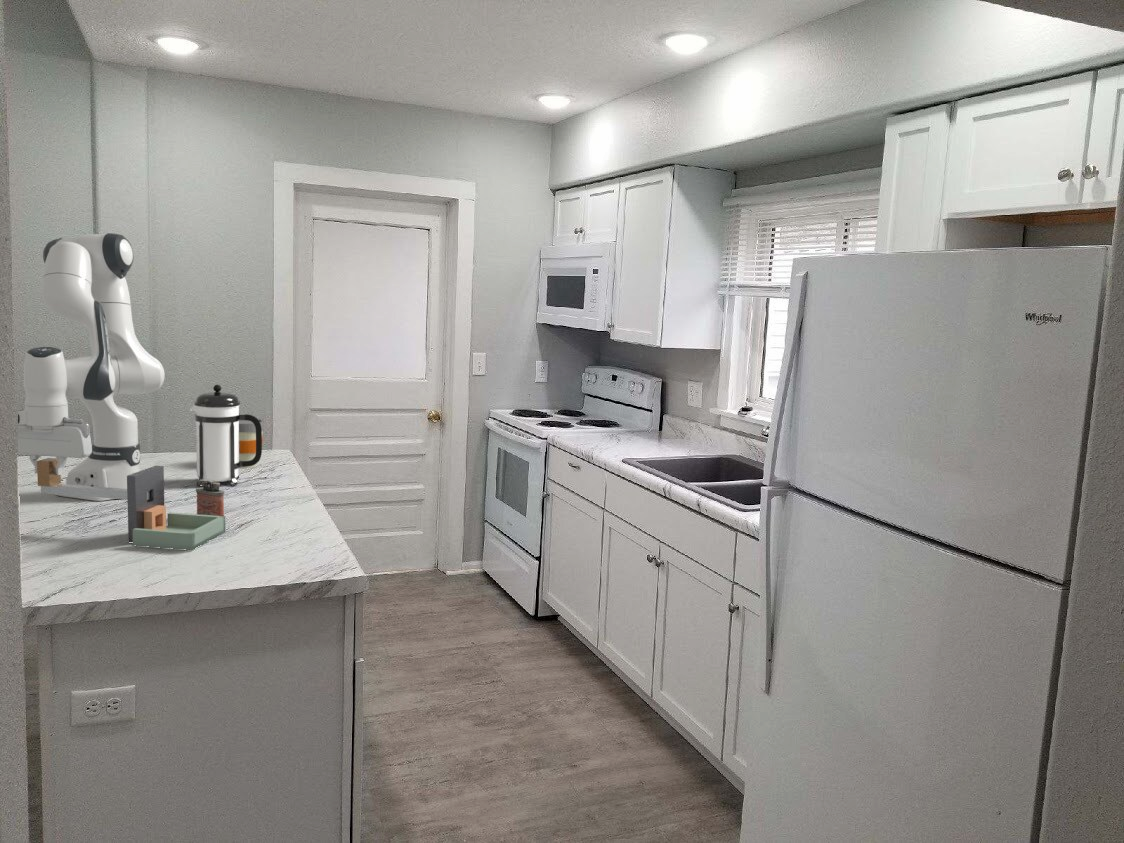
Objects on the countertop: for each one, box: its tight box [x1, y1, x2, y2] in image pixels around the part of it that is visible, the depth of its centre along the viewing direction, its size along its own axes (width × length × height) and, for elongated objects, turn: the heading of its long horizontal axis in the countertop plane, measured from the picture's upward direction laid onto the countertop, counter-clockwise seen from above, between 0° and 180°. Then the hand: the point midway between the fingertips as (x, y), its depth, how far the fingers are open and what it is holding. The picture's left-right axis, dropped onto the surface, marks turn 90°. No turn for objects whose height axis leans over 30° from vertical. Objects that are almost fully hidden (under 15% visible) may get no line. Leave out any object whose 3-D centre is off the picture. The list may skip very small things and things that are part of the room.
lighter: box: [195, 479, 225, 516], centre depth 226 cm, size 8×3×10 cm, turn 71°
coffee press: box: [189, 384, 263, 487], centre depth 264 cm, size 17×16×30 cm
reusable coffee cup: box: [239, 418, 265, 469], centre depth 290 cm, size 13×13×15 cm
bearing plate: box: [126, 465, 165, 543], centre depth 207 cm, size 2×12×16 cm, turn 175°
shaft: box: [36, 457, 150, 500], centre depth 207 cm, size 26×4×8 cm, turn 85°
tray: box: [132, 511, 226, 551], centre depth 207 cm, size 14×16×4 cm
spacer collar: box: [144, 505, 167, 530], centre depth 207 cm, size 2×6×6 cm, turn 175°
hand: (49, 473), depth 208 cm, fingers closed on shaft, 3 cm apart
